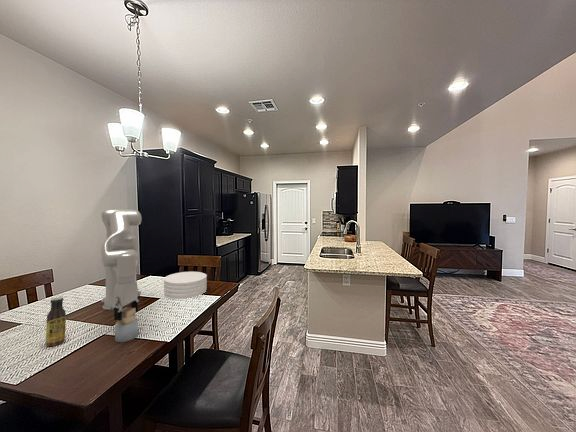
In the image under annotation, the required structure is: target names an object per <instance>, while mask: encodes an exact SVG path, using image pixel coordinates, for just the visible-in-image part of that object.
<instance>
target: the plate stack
mask: <svg viewBox="0 0 576 432" xmlns="http://www.w3.org/2000/svg"><path fill="white" fill-rule="evenodd" d="M207 278H208V274H206V273H204V272H201V271H181V272H175V273H171V274H169V275H166V276H165V277H164V278H163V297H164V298H165V299H167V298H168V299H167V300H171V299H186V300H188V299H187V298H192V297H196V296H199V295H202V294H203V293H205V292H206V293H207V291H206V290H208V289H207V287H208V286H207V285H208V284H207V281H208V280H207ZM206 293H205V294H206ZM203 295H204V294H203ZM203 295H202V296H203ZM199 297H200V296H199ZM196 298H197V297H196ZM192 299H193V298H192Z"/></svg>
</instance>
